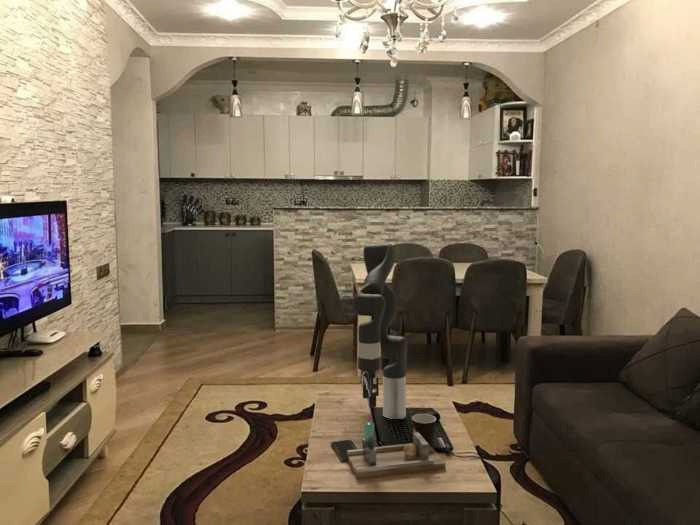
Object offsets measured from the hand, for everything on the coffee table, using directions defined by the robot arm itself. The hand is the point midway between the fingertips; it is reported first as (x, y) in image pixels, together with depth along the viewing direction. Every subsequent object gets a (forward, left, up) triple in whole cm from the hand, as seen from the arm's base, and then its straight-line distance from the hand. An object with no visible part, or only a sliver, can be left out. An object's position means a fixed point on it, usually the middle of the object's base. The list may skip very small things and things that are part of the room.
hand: (369, 402), depth 197 cm
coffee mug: (-13, +24, -22) cm, 35 cm away
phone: (-13, -5, -23) cm, 27 cm away
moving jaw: (0, 0, -20) cm, 20 cm away
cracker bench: (0, +9, -22) cm, 24 cm away
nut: (0, +14, -20) cm, 25 cm away
